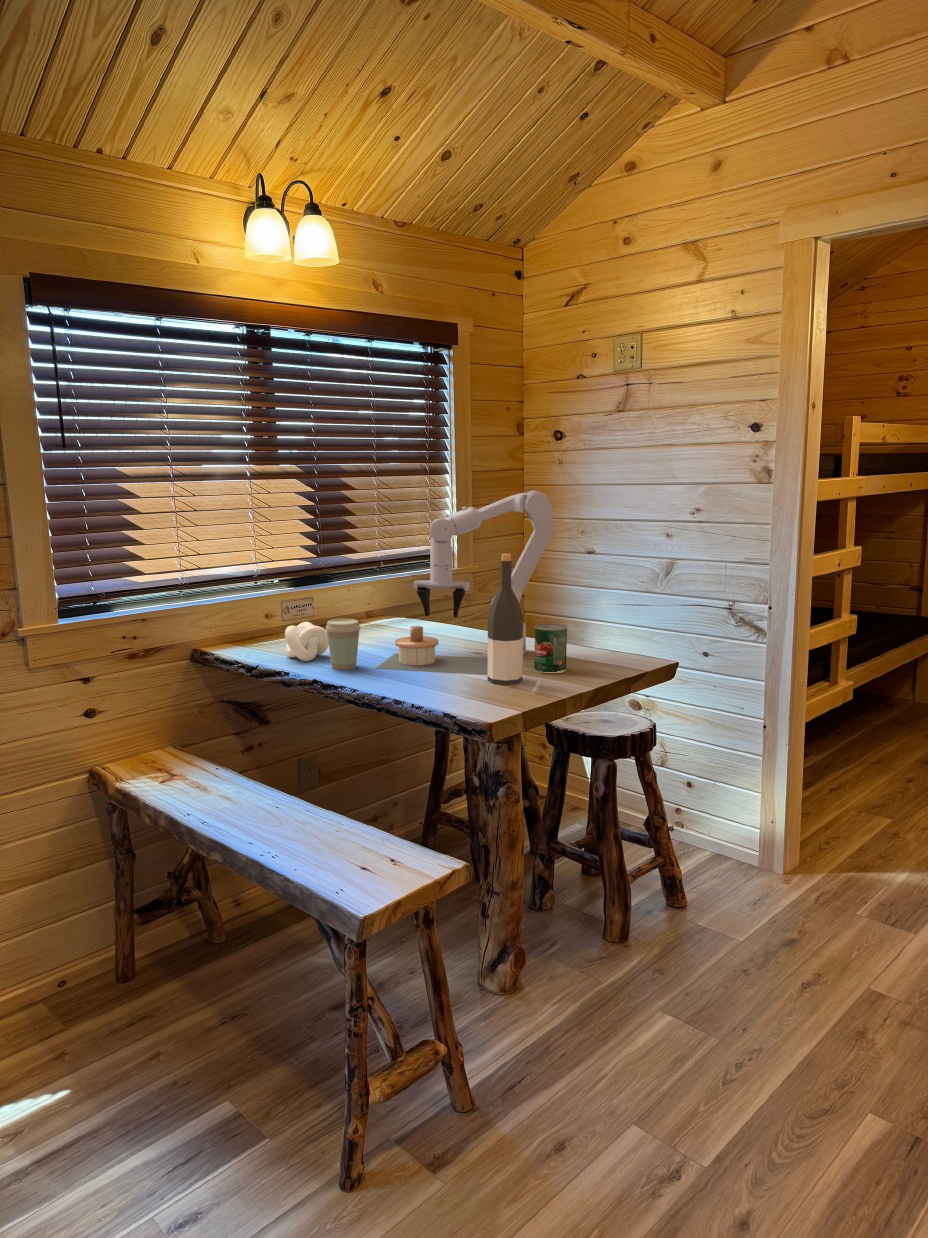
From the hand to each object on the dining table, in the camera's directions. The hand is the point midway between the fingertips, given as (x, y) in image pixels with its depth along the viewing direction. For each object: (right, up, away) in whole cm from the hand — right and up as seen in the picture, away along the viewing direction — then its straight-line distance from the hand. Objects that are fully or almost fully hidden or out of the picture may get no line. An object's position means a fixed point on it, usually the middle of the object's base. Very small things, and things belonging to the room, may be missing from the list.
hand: (441, 616), depth 221 cm
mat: (0, -12, -10) cm, 16 cm away
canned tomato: (+27, -14, -14) cm, 33 cm away
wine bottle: (+15, -16, -25) cm, 34 cm away
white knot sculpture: (-36, -11, -2) cm, 38 cm away
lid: (-6, -7, -8) cm, 12 cm away
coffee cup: (-24, -13, -13) cm, 30 cm away
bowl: (-6, -11, -7) cm, 15 cm away
